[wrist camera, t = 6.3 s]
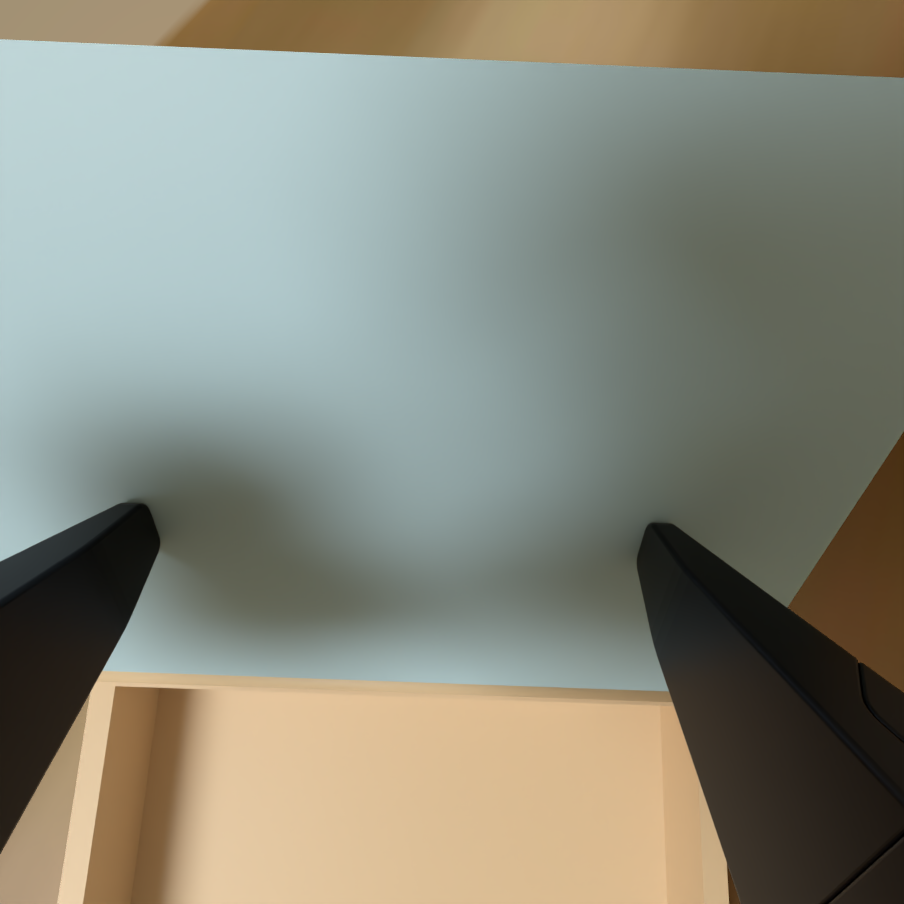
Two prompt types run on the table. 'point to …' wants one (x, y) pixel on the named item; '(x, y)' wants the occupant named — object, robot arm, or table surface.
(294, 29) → the table surface
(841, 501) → the lid
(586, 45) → the table surface
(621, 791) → the wooden tray
